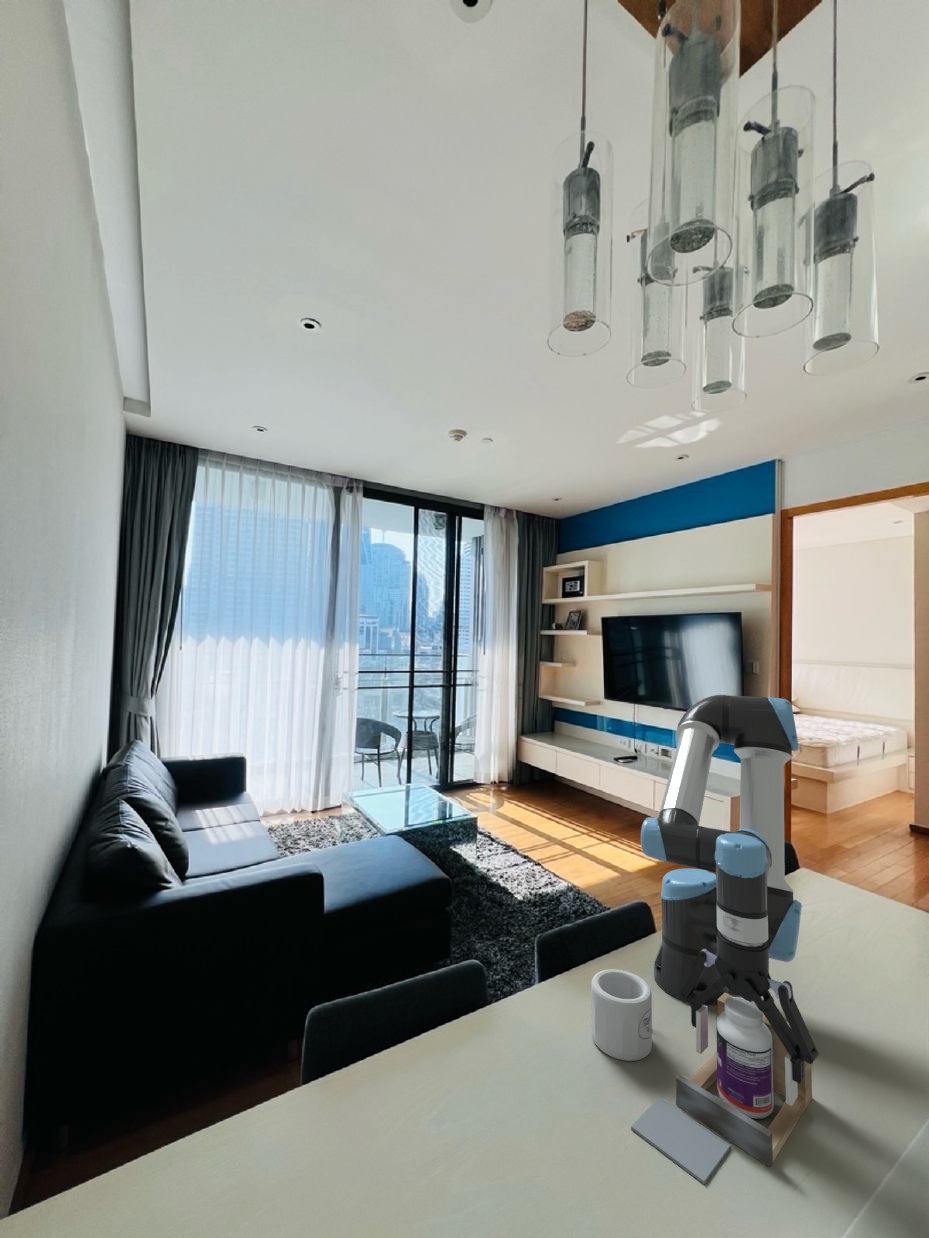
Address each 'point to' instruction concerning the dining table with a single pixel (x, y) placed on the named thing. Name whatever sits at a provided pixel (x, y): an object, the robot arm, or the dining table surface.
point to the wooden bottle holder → (732, 1121)
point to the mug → (621, 1014)
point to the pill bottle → (745, 1059)
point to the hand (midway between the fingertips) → (744, 1073)
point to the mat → (681, 1139)
